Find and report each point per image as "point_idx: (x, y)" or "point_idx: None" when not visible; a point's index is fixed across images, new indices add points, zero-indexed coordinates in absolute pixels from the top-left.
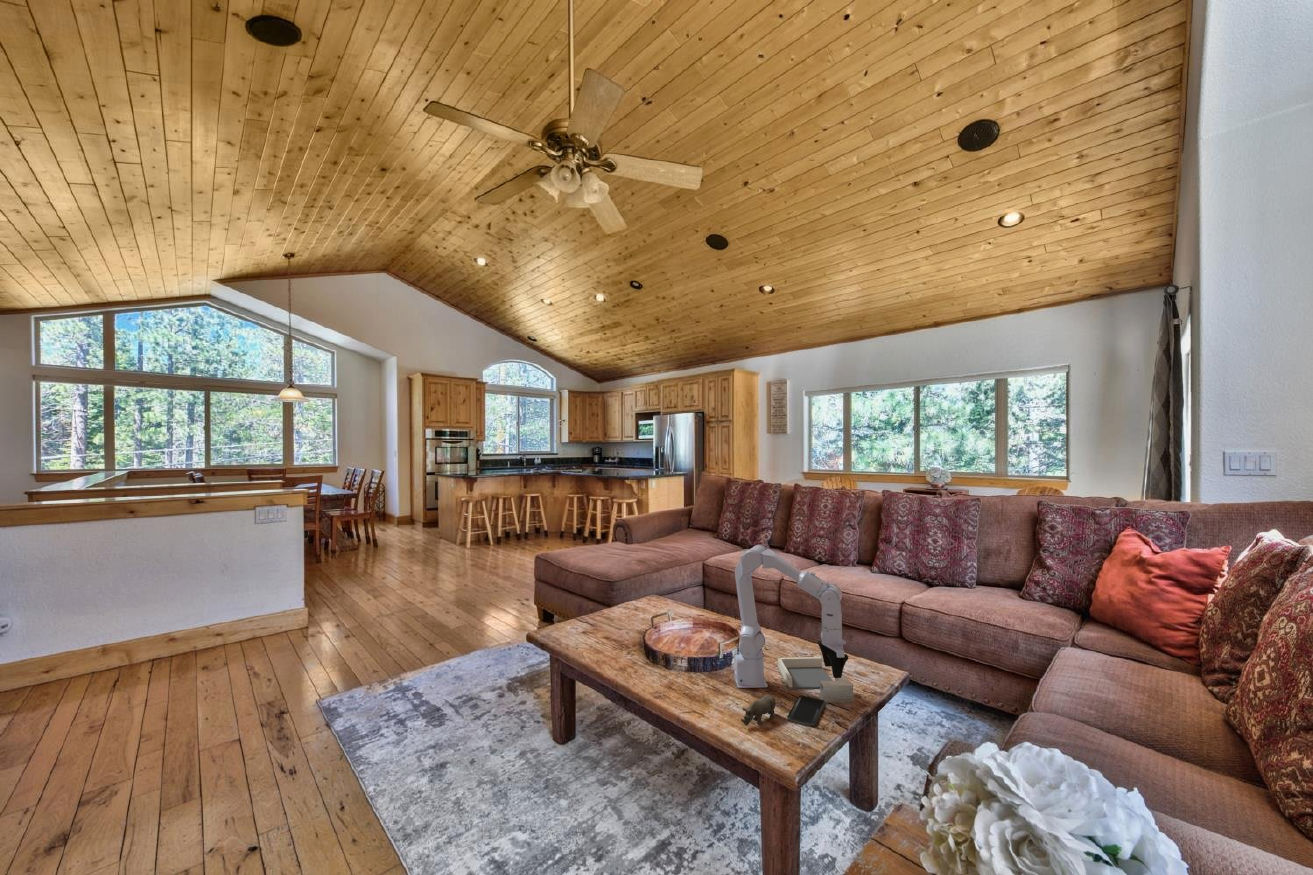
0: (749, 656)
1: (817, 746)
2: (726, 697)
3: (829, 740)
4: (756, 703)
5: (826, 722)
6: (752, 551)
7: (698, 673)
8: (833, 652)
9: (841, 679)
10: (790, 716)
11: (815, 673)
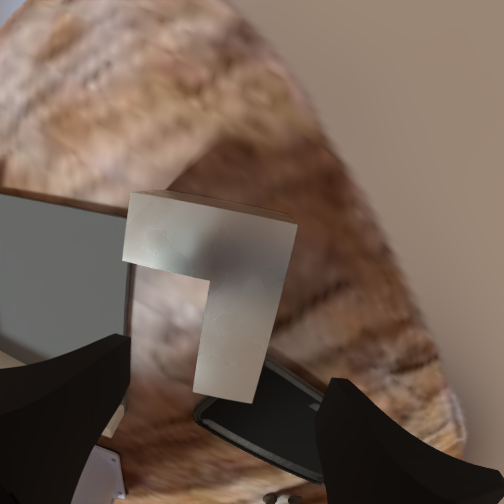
0: None
1: (446, 443)
2: None
3: (448, 416)
4: None
5: (384, 400)
6: None
7: None
8: (63, 392)
9: (197, 256)
10: (318, 477)
11: (21, 251)
